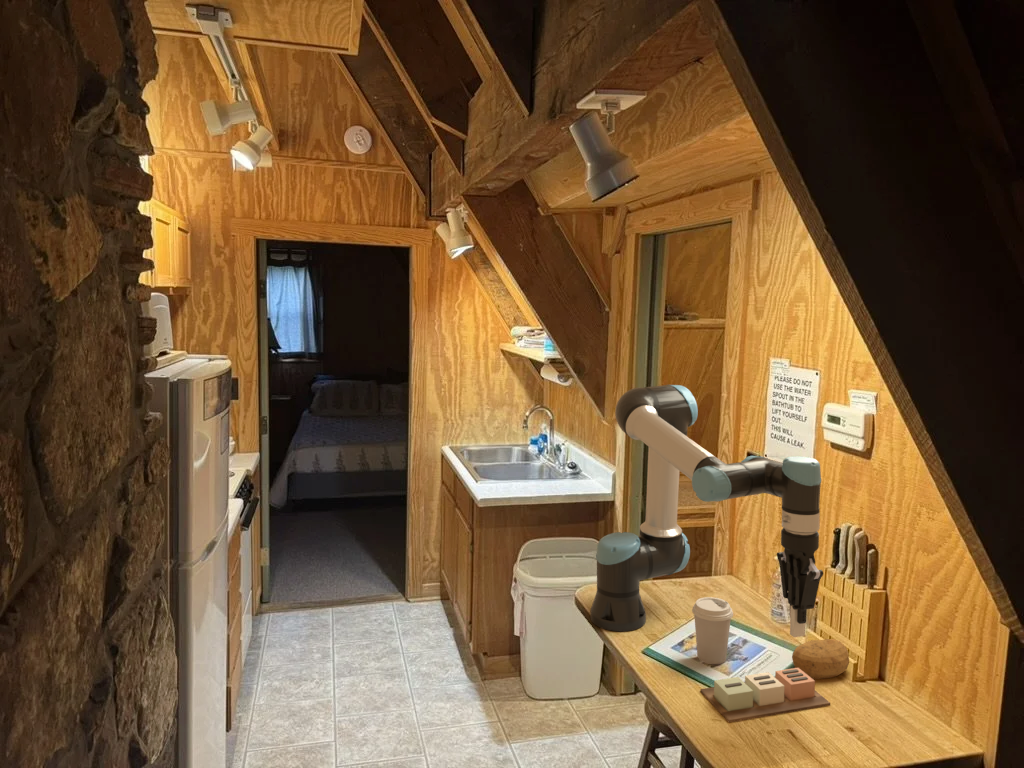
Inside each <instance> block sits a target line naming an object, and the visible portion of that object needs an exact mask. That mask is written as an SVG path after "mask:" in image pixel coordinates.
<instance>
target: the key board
mask: <svg viewBox="0 0 1024 768" xmlns="http://www.w3.org/2000/svg"><path fill="white" fill-rule="evenodd" d="M743 682H744V683H745V681H743ZM699 690H700V693H701V694H702V695H703V696H704V697H705V698H706V700H708V701H709V702H710V704H711V705H712V706H713V707H714V708H715V709H716V710H717V711H718V712H719V714H720V715H722V717H723V718H724V719H725V720H726V721H727V722H728V723H734V722H739V721H747V720H751V719H757V718H763V717H764V718H765V717H769V716H775V715H780V714H787V713H792V712H798V711H799V712H800V711H805V710H811V709H816V708H822V707H827V706H828V707H829V706H831V702H830V701H829V700H828V699H826V698H825V697H824V696H823V695H822V694H820V692H818V691H816V690H815V695H814V697H812V698H806V699H800V700H794V701H790V700H789V699H788V698H787V697H785V696H784V702H782V703H776V704H770V705H763V706H759V705H758V704H757V703H756V702H755V701H754V700H753V707H751V708H745V709H739V710H733V711H727V710H726V709H725V708H724V707H723V706H722V705H721V704H720V703H719V702H718V701H717V700H716V699H715V698H714V686H713V687H712V686H711V687H706V688H700V689H699Z"/></svg>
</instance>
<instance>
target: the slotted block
mask: <svg viewBox="0 0 1024 768" xmlns="http://www.w3.org/2000/svg"><path fill="white" fill-rule="evenodd" d="M744 682H745V681H743V680H742V679H741V678H740V676H735V677H729V678H722V679H716V680H714V681H713V683H714V684H713V685H714V686H713V687H714V698H715V699H716V700H717V701H718V702H719V703H720V704H721V705H722V706H723V707H724V708H725V709H726V710H727V711H733V710H739V709H745V708H751V707H753V690H752V689H751V688H750V687H748V686H747V685H746V684H745V683H744Z"/></svg>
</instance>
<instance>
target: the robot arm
mask: <svg viewBox="0 0 1024 768" xmlns="http://www.w3.org/2000/svg"><path fill="white" fill-rule="evenodd" d="M698 411H699V409H698V404H697V401H696V398H695V396H694V395H693V393H692V392H691V390H690V389H688V388H687V387H686V386H684V385H680V384H665V385H664V384H663V385H654V386H645V387H644V386H643V387H642V386H641V387H634V388H631V389H629V390H627V391H626V392H625V393H623V394H622V395H621V396H620V397H619V399H618V401H617V403H616V406H615V411H614V414H615V415H614V416H615V420H616V422H617V426H618V427H619V428H620V429H621V431H622V432H623V433H624V434H626V435H627V436H628V437H629V438H631V439H632V440H635V441H641V442H642V443H644V445H646V446H647V447H648V459H647V460H648V461H647V478H646V479H647V482H646V503H645V504H646V505H645V506H646V507H645V508H646V509H645V521H644V522H643V523H641V524H640V526H639V536H638V535H637V534H635V533H633V532H629V531H623V532H621V531H618V532H612V533H608V534H607V535H604V536H603V537H602V538H600V540H599V541H598V542H597V545H596V554H595V555H596V556H595V559H596V592H595V593H596V594H595V596H594V599H593V602H592V606H591V608H590V621H591V622H592V623H593V625H595V626H596V627H599V628H601V629H603V630H607V631H610V632H611V631H612V632H629V631H631V632H632V631H634V630H638V629H640V628H642V627H643V626H645V624H646V621H647V619H646V617H647V614H646V609H645V606H644V603H643V600H642V598H641V594H640V584H641V583H640V581H643V580H649V579H652V578H657V577H663V576H670V575H673V574H675V573H678V572H681V571H683V570H684V569H685V568H686V566H688V563H689V561H690V560H689V559H690V556H691V547H690V544H689V543H688V542H689V540H688V537H687V536H686V535H685V534H684V533H683V529H682V527H680V525H679V524H678V508H679V486H680V472H681V474H683V475H685V476H686V477H687V478H688V479H689V480H690V481H691V487H692V490H693V492H694V493H695V496H696V497H697V498H698V499H699V500H700V501H703V502H706V503H707V502H708V503H709V502H723V501H726V500H731V499H737V498H742V497H750V496H757V495H760V494H761V495H762V494H769V495H772V496H775V497H778V498H780V499H781V527H782V529H781V530H780V532H781V533H780V545H781V546H782V548H784V550H783V551H781V552H779V551H778V552H777V553H776V557H777V560H778V564H779V573H780V580H781V589H782V596H783V598H784V599H786V600H787V602H788V604H789V635H790V636H791V637H793V638H798V637H804V636H806V623H807V610H811V609H814V608H815V606H816V600H817V595H818V591H819V585H820V583H821V582H820V581H821V578H822V577H823V576H824V571H823V570H822V569H819V568H817V566H816V558H815V552H817V550H818V549H819V546H820V545H819V544H820V542H819V541H820V533H819V532H818V531H819V530H820V521H821V520H820V517H821V515H820V514H821V513H820V504H821V503H820V502H821V501H820V500H821V499H820V498H821V488H822V487H821V486H822V475H821V464H820V461H818V460H817V459H816V458H814V457H809V456H801V455H800V456H796V455H795V456H794V455H791V456H787V457H785V458H784V459H783V461H782V462H781V461H777V460H773V459H770V458H768V457H765V456H756V455H750V456H746V457H745V458H744V459H743V460H741V461H740V462H732V463H726V462H723V460H721V459H719V458H718V457H716V456H715V455H714V454H712V453H711V452H709V451H708V450H707V449H705V448H703V447H702V446H701V445H699V444H698V443H697V442H695V441H694V440H693V439H692V438H689V437H688V428H690V427H691V426H693V425H694V424H695V422H697V419H698V413H699V412H698Z"/></svg>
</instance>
